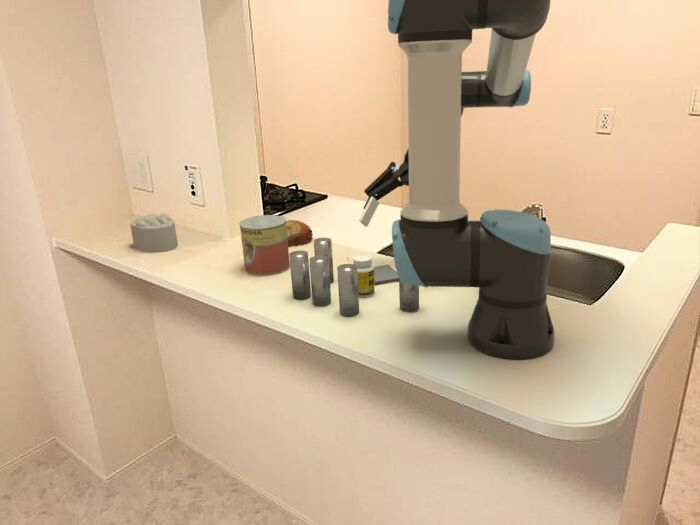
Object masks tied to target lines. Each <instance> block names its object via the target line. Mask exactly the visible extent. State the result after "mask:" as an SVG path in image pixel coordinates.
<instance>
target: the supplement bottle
mask: <svg viewBox="0 0 700 525" xmlns="http://www.w3.org/2000/svg"><path fill="white" fill-rule="evenodd" d="M352 261H353V263H352V264H354V265H356V266H357V272H358V294H359V298H370V297H372V296H374V294H375V285H374V267H375V266H373V258H372V256H370V255H367V254H362V255H361V254H359V255H356V256H354V257H353V260H352Z"/></svg>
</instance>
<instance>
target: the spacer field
mask: <svg viewBox="0 0 700 525" xmlns="http://www.w3.org/2000/svg"><path fill="white" fill-rule="evenodd" d="M332 245H333V243H332V238H330V237H318V238H315V239H314V240H313V249H314V250H313V251H314V256H312V257H310V258H309V252H308V251H306V250H294V251H291V252H290V253H289V263H290V268H289V269H290V279H291V289H292V299H294V300H296V301H305V300H306V301H307V300H309V299H310V298H311V300H312V305H313V306H314V307H319V308H324V307H328V306H330V305H331V304H332V291H331V284H333V283H334V282H335V277H334V276H335V275H334V261H333V259H334V258H333V246H332ZM336 268H337V269H336V272H337V273H336V274H337V284H338V285H337V287H338V288H337V289H338V302H339V303H338V304H339V305H338V306H339V315H340V316H342V317H345V318H352V317H356V316H358V315H359V314H360V299H359V298H360V297H359V294H358V272H357V266H356V265H354V263H342V264H340V265H338V266H337V267H336ZM398 283H399V284H398V287H399V288H398V290H399V292H398V293H399V296H398V298H399V310H400V311H401V312H403V313H408V314H409V313H415V312H418V311H419V310H420V286H414V285H406V284H404V283H403V282H402V281H401V280H400V278H399V281H398Z"/></svg>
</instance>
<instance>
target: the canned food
mask: <svg viewBox="0 0 700 525" xmlns="http://www.w3.org/2000/svg"><path fill="white" fill-rule="evenodd" d="M286 221H287V219H286V218H285V217H284V216H281V215H277V214H276V215H275V214H273V215H272V214H262V215H255V216H251V217H247V218H245V219H242V220H241V221H240V222H239V224H238V225H239V230H240V238H241V248H242V255H243V263H244V271H245V273H246V274H248V275H251V276H254V277H255V276H256V277H266V276H267V277H269V276H275V275H279V274H282V273H285V272H286V271H288V270H289V269H291V268H290V257H289V254H290V253H289V247H288V240H287V229H286Z"/></svg>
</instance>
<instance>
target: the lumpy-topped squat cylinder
mask: <svg viewBox="0 0 700 525" xmlns="http://www.w3.org/2000/svg"><path fill="white" fill-rule="evenodd" d="M175 224H176V223H175V219H174V218H171V217H170V215H169V214H168V213H161V214H159V215H158V214H155V213H149V214H146V215H142V216H138V217H136V219H135V220H132V221H131V222H130V224H129V226H130V231H131V237H132V242H133V247H134V249H136V250H137V251H140V252H143V253H149V254H150V253H153V254H155V253H156V254H157V253H166V252H171V251H173V250H175V249H177V247H178V246H179V242H178V236H177V230H176V225H175Z"/></svg>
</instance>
